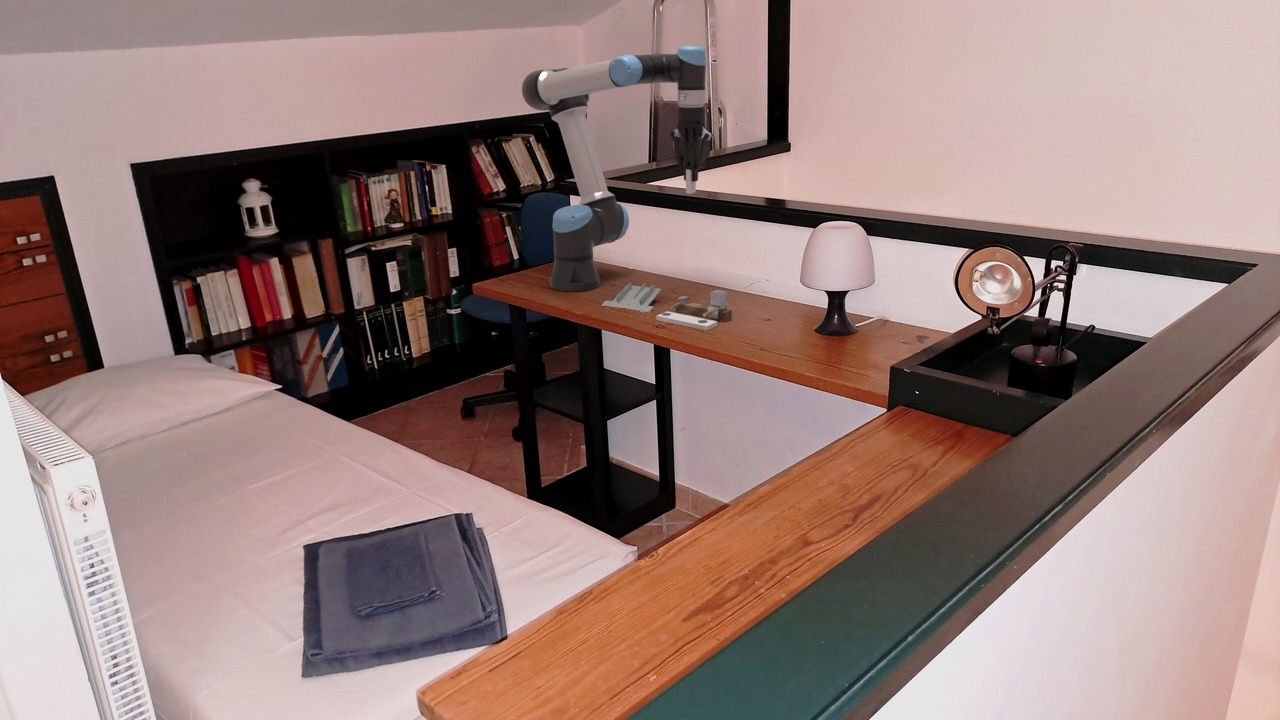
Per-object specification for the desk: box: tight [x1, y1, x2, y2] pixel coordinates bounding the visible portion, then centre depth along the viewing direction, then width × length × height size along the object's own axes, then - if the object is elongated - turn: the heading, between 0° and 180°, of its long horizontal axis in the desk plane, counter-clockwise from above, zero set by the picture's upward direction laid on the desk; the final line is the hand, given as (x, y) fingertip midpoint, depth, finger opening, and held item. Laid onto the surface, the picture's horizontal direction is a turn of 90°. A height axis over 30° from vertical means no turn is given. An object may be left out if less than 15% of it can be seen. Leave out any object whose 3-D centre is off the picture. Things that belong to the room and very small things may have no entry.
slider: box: [703, 289, 729, 319], centre depth 240 cm, size 3×9×7 cm, turn 143°
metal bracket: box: [601, 281, 662, 314], centre depth 257 cm, size 14×6×15 cm
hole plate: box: [655, 311, 718, 331], centre depth 240 cm, size 16×5×1 cm, turn 53°
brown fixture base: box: [669, 295, 733, 323], centre depth 244 cm, size 16×7×4 cm, turn 53°
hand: (690, 192), depth 256 cm, fingers closed
